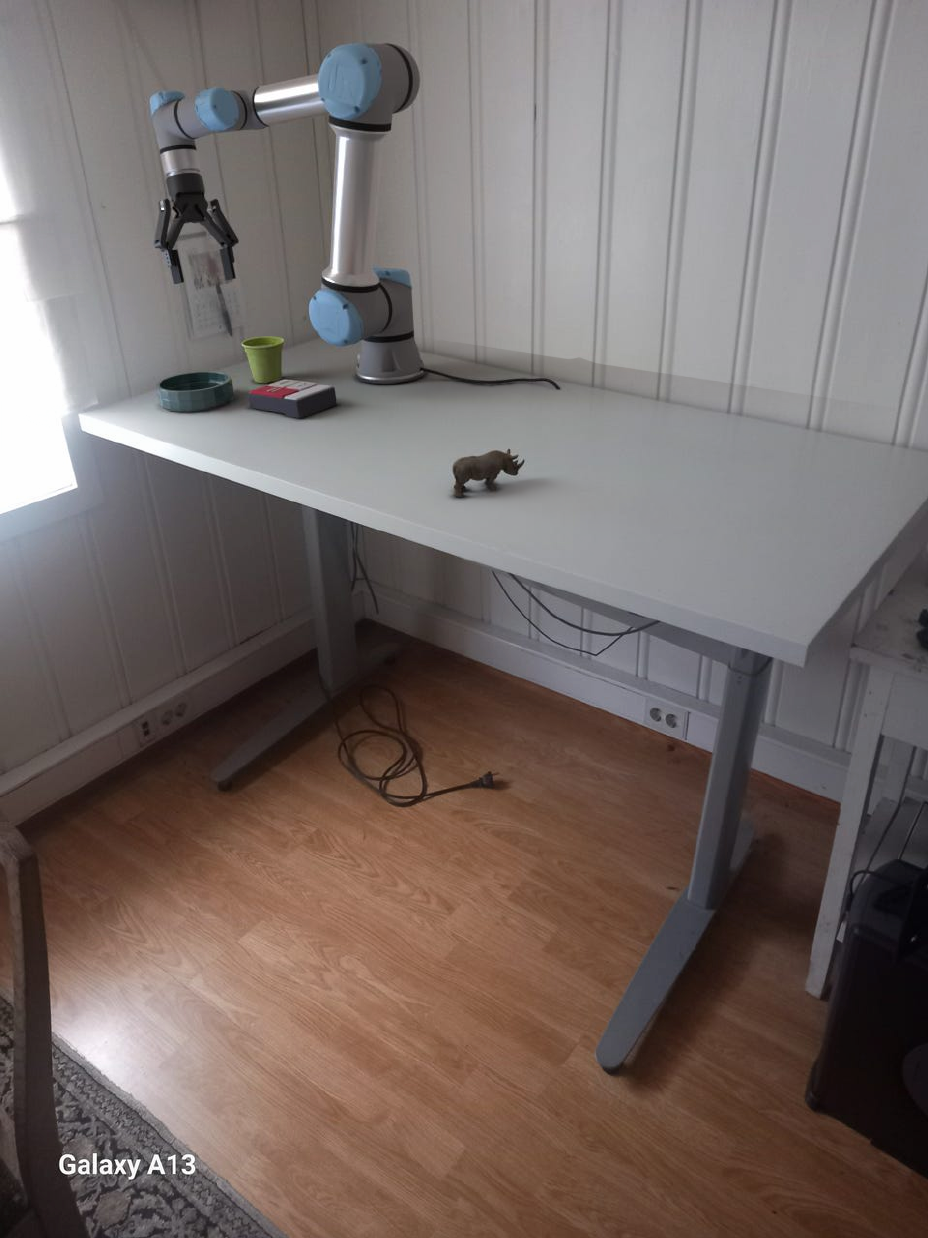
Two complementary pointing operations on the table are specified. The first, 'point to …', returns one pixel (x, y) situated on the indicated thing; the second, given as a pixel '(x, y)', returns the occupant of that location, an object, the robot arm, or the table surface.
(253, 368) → the plant pot
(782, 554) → the table surface
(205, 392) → the bowl
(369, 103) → the robot arm
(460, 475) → the rhino figurine
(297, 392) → the calculator
